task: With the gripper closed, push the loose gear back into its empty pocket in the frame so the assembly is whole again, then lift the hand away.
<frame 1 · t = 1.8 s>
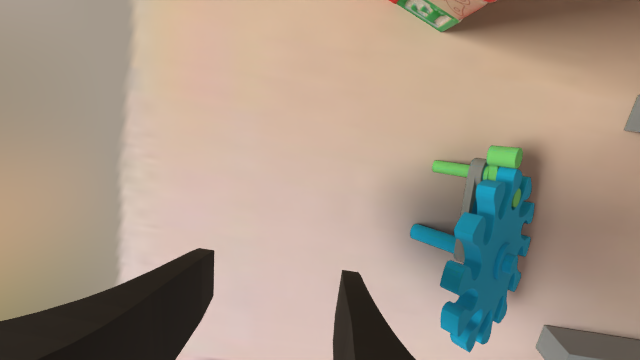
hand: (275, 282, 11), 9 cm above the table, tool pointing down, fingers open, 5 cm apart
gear: (465, 219, 20), on the table
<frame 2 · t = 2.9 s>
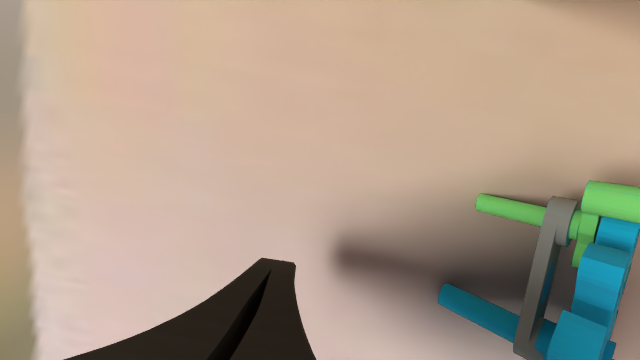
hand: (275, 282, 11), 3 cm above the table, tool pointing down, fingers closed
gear: (518, 278, 14), on the table
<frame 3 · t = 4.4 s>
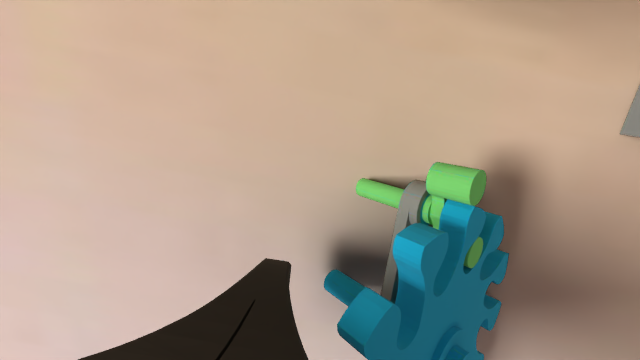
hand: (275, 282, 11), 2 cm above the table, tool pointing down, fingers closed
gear: (409, 266, 14), on the table, touching gripper
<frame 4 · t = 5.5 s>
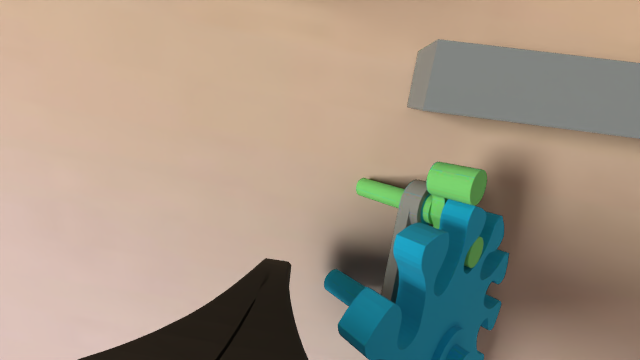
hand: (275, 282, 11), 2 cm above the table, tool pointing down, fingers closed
gear frame: (533, 289, 13), on the table
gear: (409, 266, 14), on the table, touching gripper
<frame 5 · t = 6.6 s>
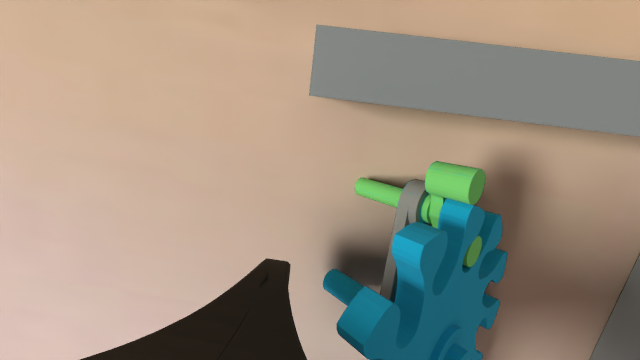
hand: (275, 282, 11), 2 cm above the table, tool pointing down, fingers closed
gear frame: (454, 276, 13), on the table
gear: (408, 266, 14), on the table, touching gripper
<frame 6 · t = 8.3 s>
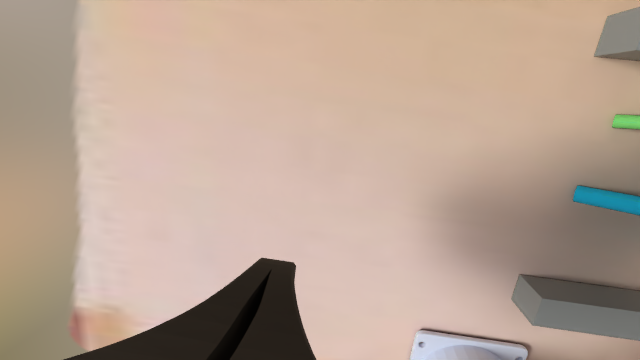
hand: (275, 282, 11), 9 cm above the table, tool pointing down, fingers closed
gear: (630, 184, 19), on the table
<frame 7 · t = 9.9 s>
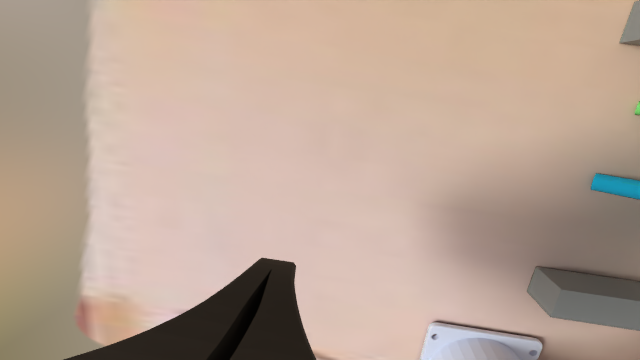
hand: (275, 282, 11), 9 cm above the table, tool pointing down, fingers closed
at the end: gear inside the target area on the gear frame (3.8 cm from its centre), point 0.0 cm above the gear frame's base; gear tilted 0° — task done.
